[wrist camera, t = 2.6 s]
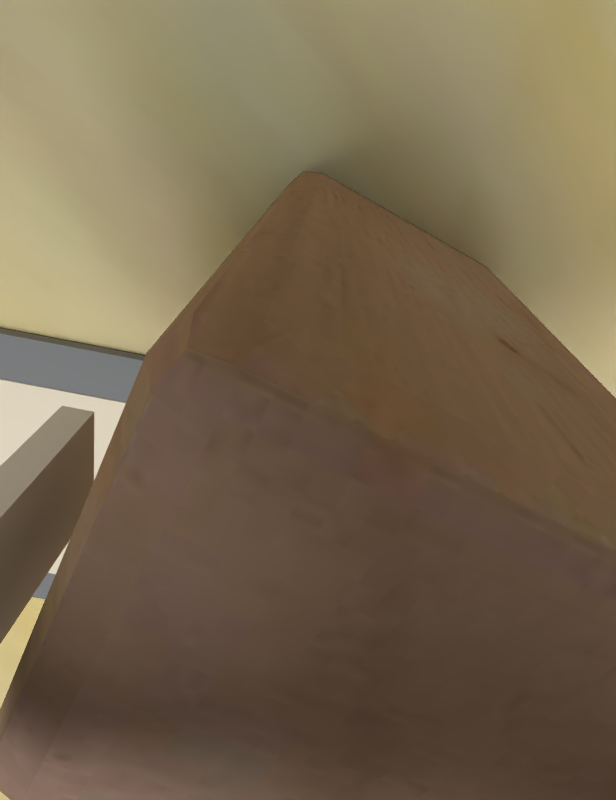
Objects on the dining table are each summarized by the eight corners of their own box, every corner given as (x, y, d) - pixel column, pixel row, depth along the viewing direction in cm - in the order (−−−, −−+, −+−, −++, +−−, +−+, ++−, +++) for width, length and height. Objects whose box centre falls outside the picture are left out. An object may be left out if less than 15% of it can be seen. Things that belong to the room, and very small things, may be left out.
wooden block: (501, 273, 24) (939, 696, 6) (383, 440, 28) (451, 971, 11) (301, 159, 22) (147, 303, 5) (209, 354, 27) (-54, 815, 9)
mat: (-151, 299, 26) (-163, 303, 26) (212, 368, 27) (210, 374, 26) (-93, 566, 35) (-101, 575, 34) (185, 615, 35) (182, 624, 35)
